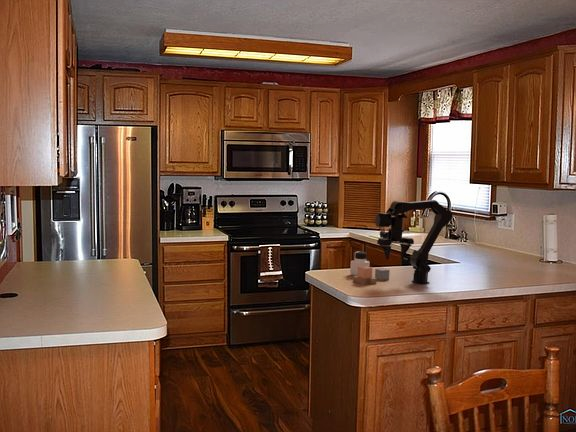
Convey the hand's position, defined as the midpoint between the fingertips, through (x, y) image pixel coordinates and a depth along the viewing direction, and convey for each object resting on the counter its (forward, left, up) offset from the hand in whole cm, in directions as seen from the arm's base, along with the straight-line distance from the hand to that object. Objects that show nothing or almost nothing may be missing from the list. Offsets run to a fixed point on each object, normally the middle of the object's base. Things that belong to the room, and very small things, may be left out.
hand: (394, 258), depth 296 cm
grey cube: (-1, -10, -12) cm, 16 cm away
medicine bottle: (+4, -22, -12) cm, 25 cm away
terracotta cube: (+13, -6, -10) cm, 17 cm away
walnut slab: (+13, -6, -12) cm, 19 cm away
